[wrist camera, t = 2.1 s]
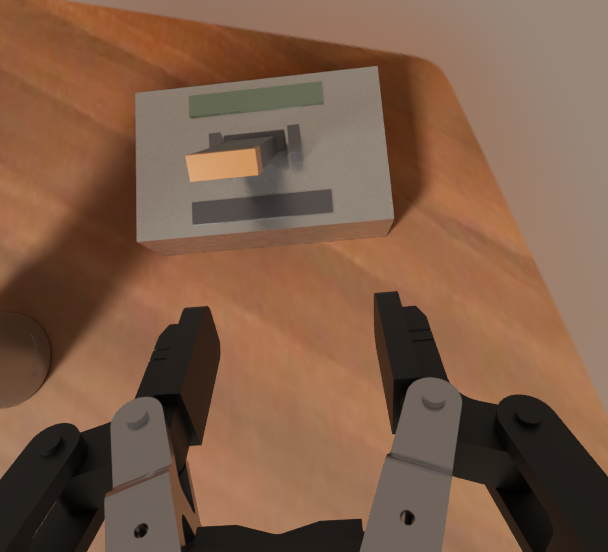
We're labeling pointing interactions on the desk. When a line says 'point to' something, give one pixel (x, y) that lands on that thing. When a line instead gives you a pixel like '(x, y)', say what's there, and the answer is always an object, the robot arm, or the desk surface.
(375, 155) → the breaker box
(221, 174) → the breaker lever
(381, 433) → the desk surface
